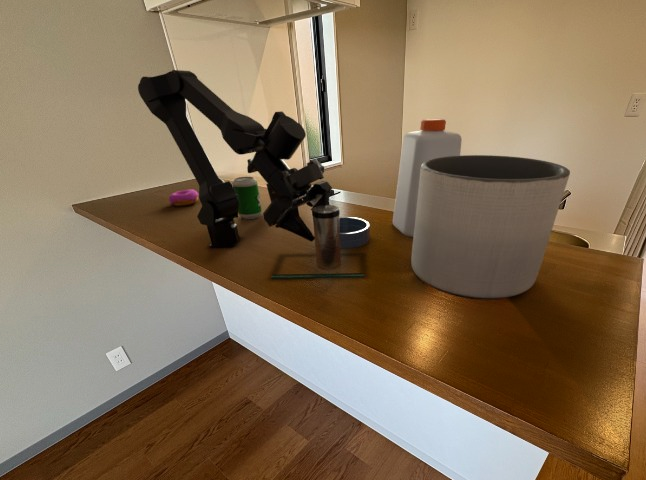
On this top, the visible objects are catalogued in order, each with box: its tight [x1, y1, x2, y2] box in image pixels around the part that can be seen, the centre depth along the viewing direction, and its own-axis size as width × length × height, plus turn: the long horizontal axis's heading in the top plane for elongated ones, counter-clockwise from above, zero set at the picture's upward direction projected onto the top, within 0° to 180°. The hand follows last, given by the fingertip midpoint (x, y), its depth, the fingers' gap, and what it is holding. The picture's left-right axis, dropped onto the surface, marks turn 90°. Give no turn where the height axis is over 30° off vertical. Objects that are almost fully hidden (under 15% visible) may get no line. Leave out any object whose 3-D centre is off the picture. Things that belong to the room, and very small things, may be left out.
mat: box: [271, 272, 365, 280], centre depth 74 cm, size 20×12×1 cm, turn 90°
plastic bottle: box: [392, 118, 463, 238], centre depth 86 cm, size 15×15×28 cm
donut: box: [168, 188, 199, 207], centre depth 119 cm, size 10×10×5 cm
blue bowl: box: [339, 216, 370, 250], centre depth 85 cm, size 13×13×4 cm
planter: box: [410, 154, 571, 301], centre depth 64 cm, size 25×25×22 cm
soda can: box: [231, 176, 263, 220], centre depth 103 cm, size 8×8×12 cm
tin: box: [311, 204, 342, 271], centre depth 70 cm, size 6×6×13 cm
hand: (325, 232), depth 69 cm, fingers open, 9 cm apart
